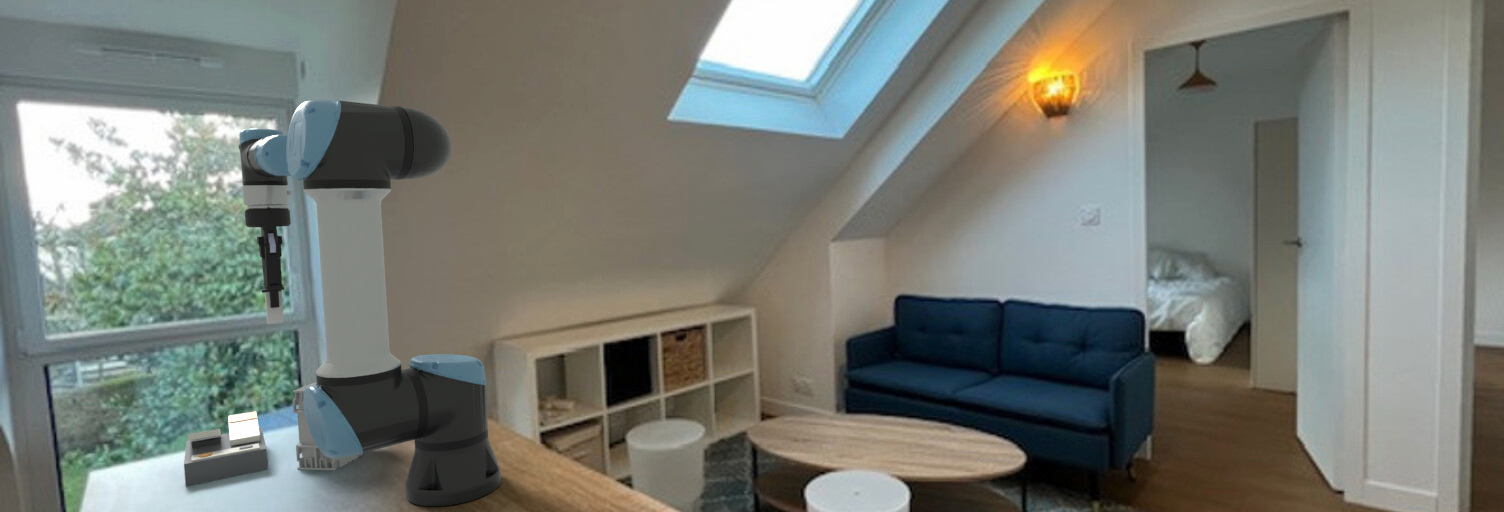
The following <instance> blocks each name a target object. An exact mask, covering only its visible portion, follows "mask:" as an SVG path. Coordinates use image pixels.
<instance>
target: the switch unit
mask: <svg viewBox="0 0 1504 512" xmlns="http://www.w3.org/2000/svg"><path fill="white" fill-rule="evenodd" d="M259 432H260V441H255V442H249V443H244V444H238V445H233V446H230V434H229V432H228V433H222V434H221V436H217V437H211V438H206V439H200V440H194V441H189V440H188V439H187V440H186V442H185V452H184V458H183V470H184V481H185V487H187V486H194V485H197V484H202V483H207V482H213V481H218V480H222V479H227V478H232V477H233V478H234V477H237V476H238V477H239V476H242V475H246V474H252V473H256V472H262V471H267V470H269V467H268V466H269V465H268V453H267V450H268V449H267V445H266V441H265V440H266V439H265V437H264V433H263V432H264V431H263V428H262V427H259Z"/></svg>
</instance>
